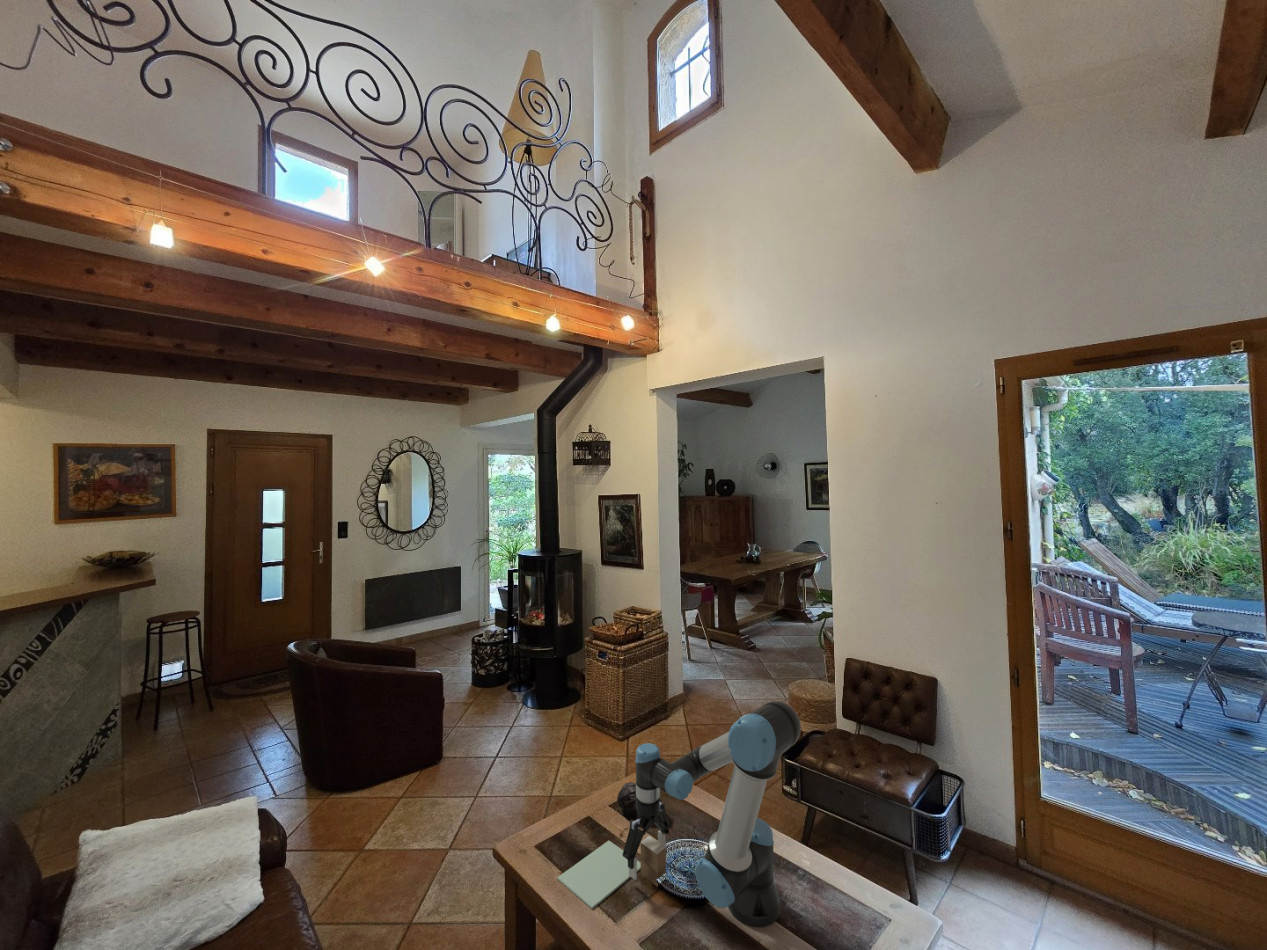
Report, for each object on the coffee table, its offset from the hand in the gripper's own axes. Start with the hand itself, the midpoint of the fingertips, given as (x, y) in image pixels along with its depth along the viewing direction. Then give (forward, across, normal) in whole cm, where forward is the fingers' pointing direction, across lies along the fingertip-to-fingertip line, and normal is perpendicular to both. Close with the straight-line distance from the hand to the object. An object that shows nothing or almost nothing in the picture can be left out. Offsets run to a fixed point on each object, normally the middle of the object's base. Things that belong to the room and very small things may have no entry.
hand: (647, 864), depth 158 cm
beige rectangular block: (+2, 0, +2) cm, 3 cm away
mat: (+3, +10, -11) cm, 15 cm away
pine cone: (+3, -20, -21) cm, 29 cm away
